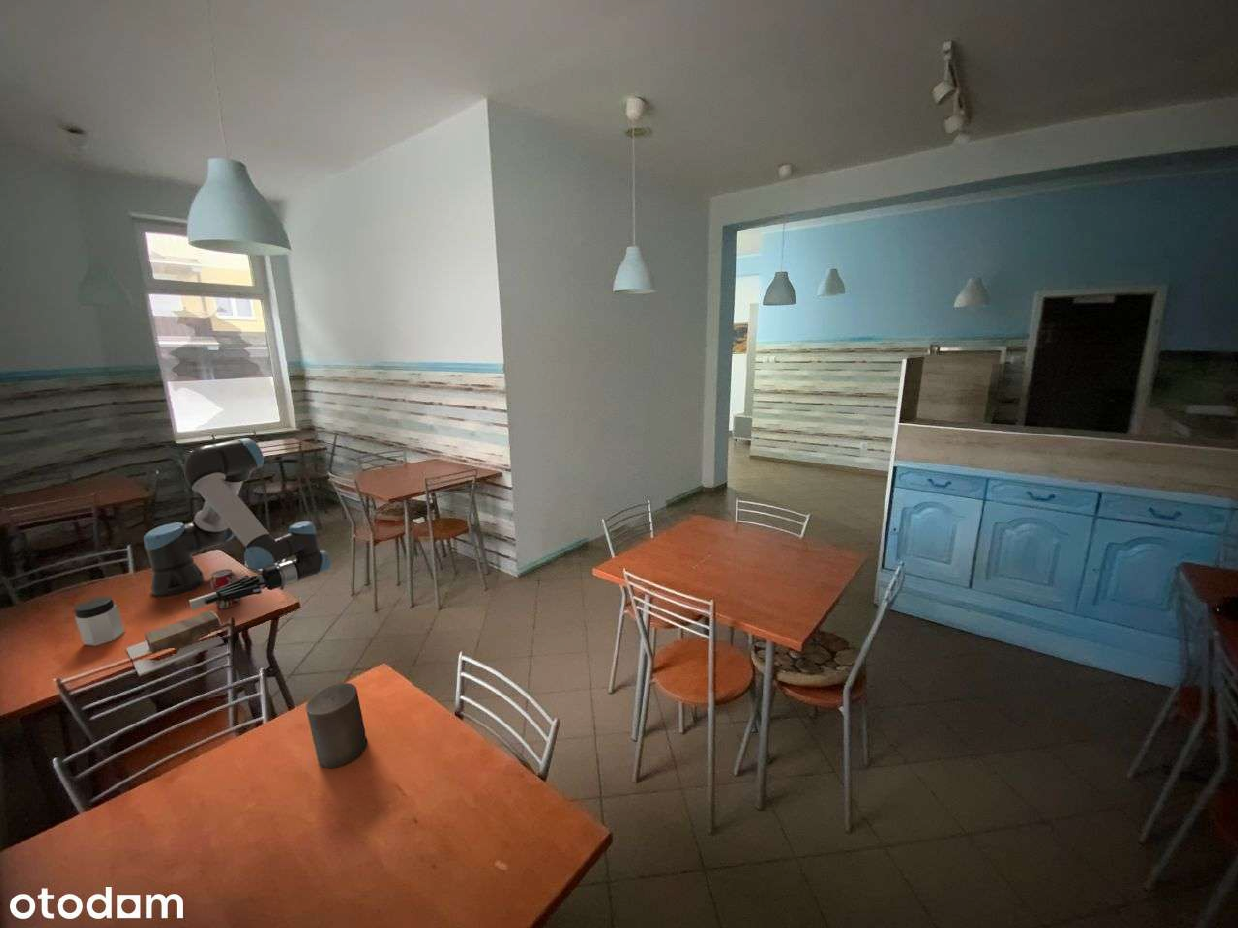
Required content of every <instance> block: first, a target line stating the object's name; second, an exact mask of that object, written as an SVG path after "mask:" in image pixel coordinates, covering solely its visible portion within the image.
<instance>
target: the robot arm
mask: <svg viewBox="0 0 1238 928" xmlns="http://www.w3.org/2000/svg"><path fill="white" fill-rule="evenodd" d="M264 462H265V457H264V453H263V451H262V449H261V447H260V446H259V445H258V443H257V442H256V441H255V440H253V439H251V438H249V437H247V438H246V437H245V438H236V439H233V440H226V441H222V442H217V443H211V444H205V445H201V446H199V447H196V448H195V449H193V450H192V451H190V453H189V454H188V455H187V456H186V458H185V461H184V463H183V475H184V479H185V481H186V483H187V485H188V486H189V488H190V489H191V490H192V491H193V492H194V493H196V494H200V495H201V496H202V497H203V499H204V500H205V501H204V504H203V507H202V510H200V511H198V512H196V513H195V516H194V518H193V520H192V521H191V522H187V523H183V522H180V521H176V522H170V523H166V524H163V525H159V526H156V527H154V528H152V529H151V530H149V531H148V532H146V534H145V535H144V536H143V542H144V549H145V550H146V554H147V557H148V560H149V563H150V567H151V571H152V575H151V576H152V579H151V585H150V592H151V594H152V595H153V596H155V597H165V596H167V597H168V596H172V595H178V594H181V593H184V592H187V591H190V590H192V589H195V588H196V587H199V586H200V585H201V584H203V583H204V582H205V581H206V579H205V575H204V573H203V572H202V570H201V569H200V568H199V566H197V564H196V563H195V560H194V558H193V554H196V553H198V552H201V551H202V552H203V551H204V550H207V549H210V548H213V547H215V546H219V545H223V544H226V542H228V541H231V540H232V539H234V537H236V538H237V540H239V542H240V543H241V544H242V545H243V546H244V547H245V549H246V550H245V551H244V553H243V560H244V561H245V564H246V566H247V567H248V568H250V569H251V570H252V571H253V570H254V571H258V570H261V569H262V571H261V574H259V575H253V576H249V575H244V576H242V577H240V578H239V579H237V580H236V581H233V582H231V583H228V584H226V585H224V586H221V587H219V588H216V591H215V592H211V593H208V594H205V595H202V596H198V597H196V598H192V599H189V600H188V602H189V606H190V610H192V611H194V610H197V609H200V608H202V607H206V606H208V605H211V604H214V603H215V602H217V601H223V602H228V601H231V600H235V599H239V598H241V599H242V598H245V597H249V596H253V595H254V596H255V595H258V594H262V593H263V592H262V590H264V589H265V588H266V589H267V590H269V591H273V590H275V589H278V588H281V587H282V586H286V585H288V584H289V585H292V584H293V583H294V582H298V581H300V580H302V579H306V578H309V577H311V576H314V575H319V574H320V573H322V572H325V571H327V570H329V569H330V567H331V559H330V556H329V553H328V552H327V551H326V550H324V549H321V550H320V547H319V540H318V535H317V534H318V533H317V529H316V526H315V523H314V522H312V521H310V520H309V521H307V520H306V521H298V522H295V523H293V524H291V525H289V528H288V532H289V533H286V534H284V535H281V536H278V537H276V538H274V537H273V536H272V535H271V534H270V533H269V532H268V530H267V529H266V528H265V527H264V526H263V524H262V523H261V522H260V521H259V519H257V517H256V516H255V515H254V513H253V512H252V511H251V510H250V509H249V507H248V506H247V505H246V504H245V502H244V501H243V500H242V499H241V498H240V497H239V496H238V495H239V492H240V490H241V487H242V485H243V482H246V481H247V480H249V479H250V477H251V475H252V473H253V471H254V470H259V469H260V468H262V467H263V466H264V464H265V463H264ZM293 556H294V557H295V558H293V559H290V560H287V561H284V562H281V561H283V560H285V559H288V558H291V557H293ZM278 562H280V563H278ZM275 564H276V565H275Z"/></svg>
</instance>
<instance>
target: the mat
mask: <svg viewBox="0 0 1238 928" xmlns="http://www.w3.org/2000/svg"><path fill="white" fill-rule="evenodd" d="M224 643H225V642H224V639H222V638H221V636H220V635H219V636H217V637H214V638H210V639H207V640H204V641H200V642H197V643H194V644H192V645H189V646H186V647H183V648H181V649H179V651H177V654H173V656H174V657H168V659H161V660H162V661H156V660H155V661H154V660H141V661H137V662H135V663H133V662H132V664H133V666H134V668H135V670H136V672H137V674H138V676H139V677H141V676H144V675H146V674H149V673H152V672H154V671H156V670H159V669H162V668H165V667H167V666H169V665H172V664H175V663H177V662H180V661H182V660H184V659H187V658H189V657H191V656H195V655H197V654H200V653H202V652H205V651H207V650H209V649H212V648H215V647H218V646H219V645H222V644H224ZM125 650H126V652H127V654H128V657H129V659H131V658H135V657H138V656H142V655H144V654H147V653H148V652H151V651H150V649H149V646H148V643H147V640H145V641H141V642H140V643H136V644H133V645H130V646H128V647H126V648H125ZM153 662H156V663H153Z"/></svg>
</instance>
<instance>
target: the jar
mask: <svg viewBox="0 0 1238 928" xmlns="http://www.w3.org/2000/svg"><path fill="white" fill-rule="evenodd" d="M74 613H75V615H76V616H75V617H74V619H75V622H76V625H77V628H78V631H79V634H80V636H81V640H82V642H83V645H87V646H95V647H96V646H99V645H102V644H104V643H109V642H112V641H114V640H116V639H117V638H118V637H120V636H121V635H122V634H123V633H124V632H125V628H124V625H123V622H122V620H121V615H120V612H119V610H118V607H117V605H116V604H114V600H113V598H112V597H110V596H102V597H96V598H93V599H90V600H86V601H84V602H82V603H80V604H78V605H77V606H75V608H74Z"/></svg>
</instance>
